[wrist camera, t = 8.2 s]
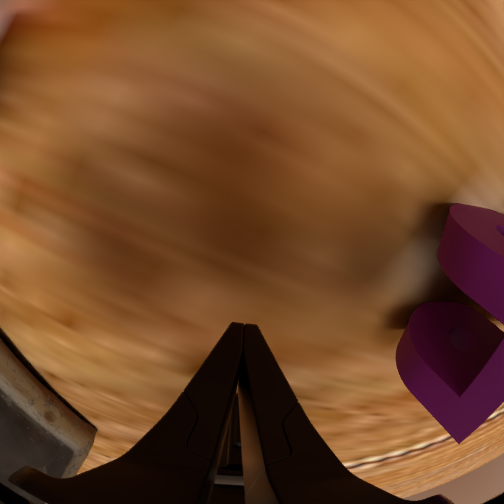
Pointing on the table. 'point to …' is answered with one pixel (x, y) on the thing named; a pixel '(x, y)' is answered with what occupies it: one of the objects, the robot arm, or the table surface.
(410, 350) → the mounting bracket
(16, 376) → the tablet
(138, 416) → the table surface
